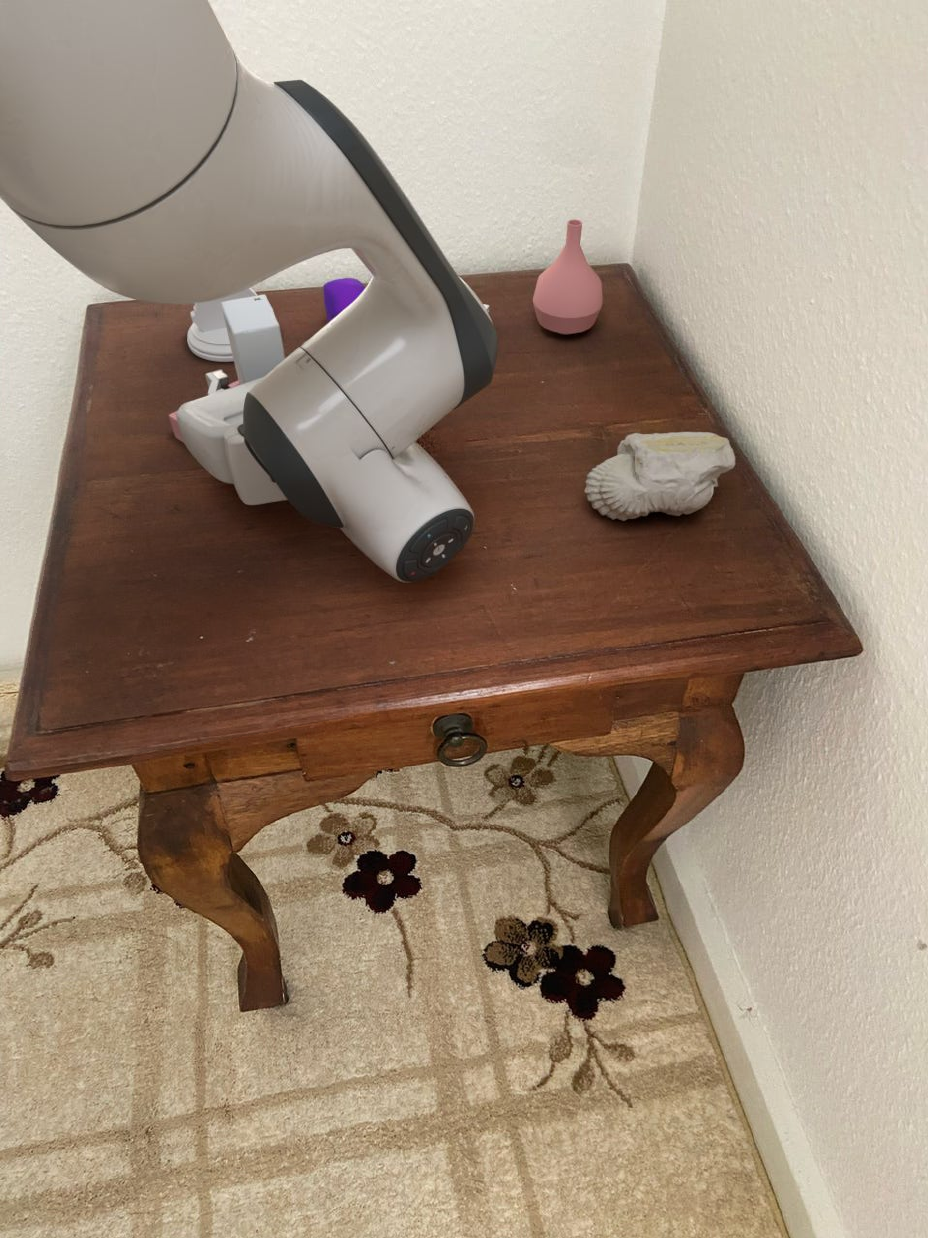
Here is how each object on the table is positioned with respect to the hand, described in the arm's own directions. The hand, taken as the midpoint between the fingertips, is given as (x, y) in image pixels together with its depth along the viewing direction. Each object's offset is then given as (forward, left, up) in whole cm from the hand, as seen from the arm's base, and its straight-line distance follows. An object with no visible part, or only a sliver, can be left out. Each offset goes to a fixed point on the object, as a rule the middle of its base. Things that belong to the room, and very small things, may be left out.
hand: (263, 362), depth 79 cm
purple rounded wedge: (+17, +9, -9) cm, 21 cm away
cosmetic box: (+1, +2, -8) cm, 8 cm away
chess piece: (+8, +19, -9) cm, 22 cm away
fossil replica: (+16, -32, -9) cm, 37 cm away
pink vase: (+35, -7, -9) cm, 37 cm away
